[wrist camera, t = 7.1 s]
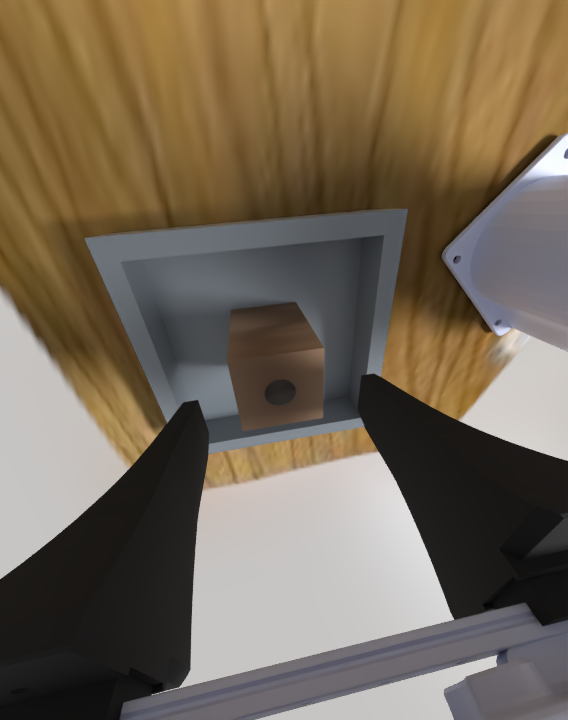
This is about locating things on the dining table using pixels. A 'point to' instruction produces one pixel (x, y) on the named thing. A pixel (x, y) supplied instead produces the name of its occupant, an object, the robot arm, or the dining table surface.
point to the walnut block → (275, 366)
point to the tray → (253, 289)
